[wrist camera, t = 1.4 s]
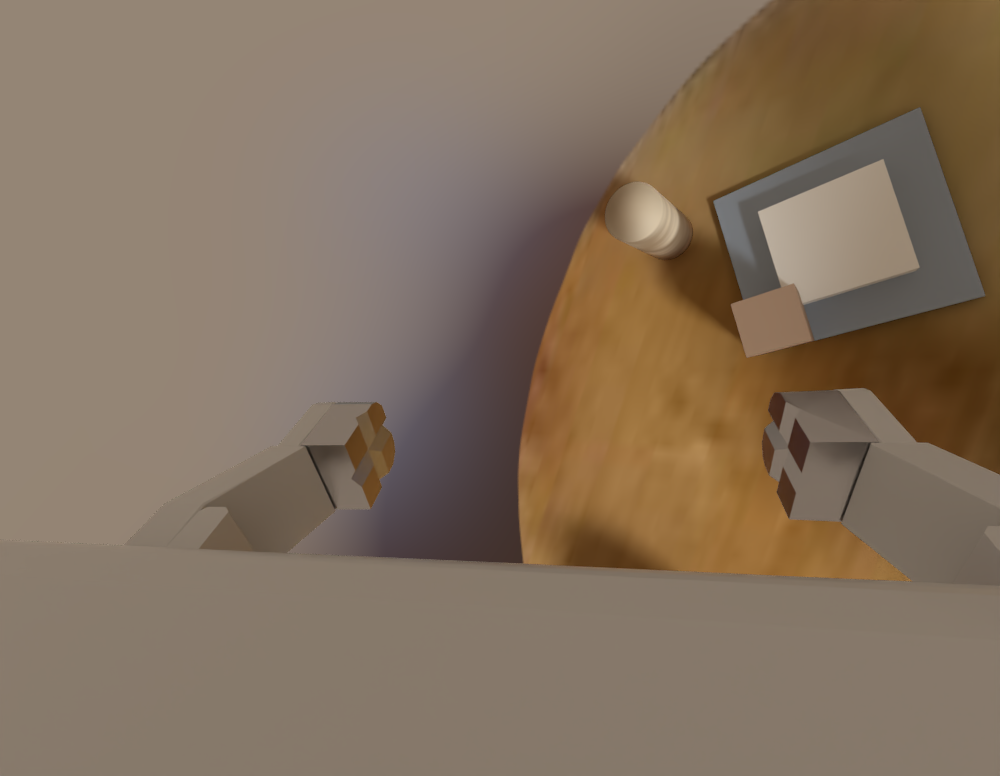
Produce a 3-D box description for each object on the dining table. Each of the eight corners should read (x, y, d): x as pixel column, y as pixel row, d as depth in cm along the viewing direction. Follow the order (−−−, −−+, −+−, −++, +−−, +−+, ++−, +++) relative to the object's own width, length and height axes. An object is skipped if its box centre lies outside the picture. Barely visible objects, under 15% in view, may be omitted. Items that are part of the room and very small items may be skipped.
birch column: (685, 203, 43) (651, 170, 35) (698, 248, 43) (668, 226, 35) (639, 224, 46) (598, 198, 38) (651, 267, 45) (613, 250, 37)
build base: (918, 111, 34) (942, 49, 27) (982, 296, 33) (1025, 284, 26) (715, 203, 42) (691, 174, 35) (761, 354, 41) (746, 357, 34)
